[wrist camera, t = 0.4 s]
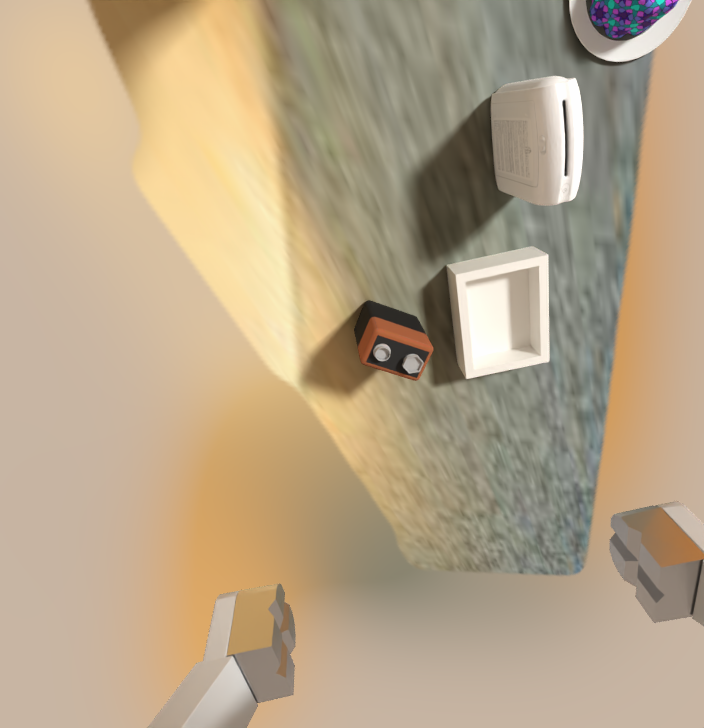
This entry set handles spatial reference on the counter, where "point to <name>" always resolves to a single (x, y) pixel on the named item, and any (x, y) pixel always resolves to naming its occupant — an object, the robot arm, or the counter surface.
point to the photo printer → (538, 139)
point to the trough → (500, 311)
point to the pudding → (625, 25)
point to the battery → (392, 341)
